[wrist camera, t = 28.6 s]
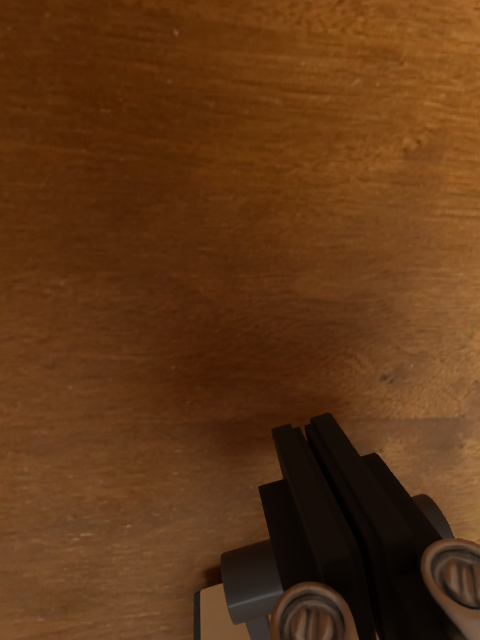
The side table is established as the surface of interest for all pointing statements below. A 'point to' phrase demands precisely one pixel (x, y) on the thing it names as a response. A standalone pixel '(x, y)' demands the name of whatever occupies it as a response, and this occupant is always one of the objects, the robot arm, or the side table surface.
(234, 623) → the drawer
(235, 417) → the side table surface
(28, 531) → the side table surface
